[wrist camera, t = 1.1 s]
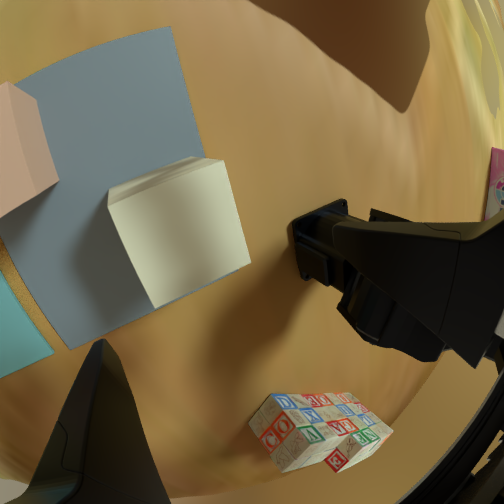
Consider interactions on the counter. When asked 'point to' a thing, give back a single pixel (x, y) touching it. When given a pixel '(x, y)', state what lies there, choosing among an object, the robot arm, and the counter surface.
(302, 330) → the counter surface
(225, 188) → the maple block
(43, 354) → the teal pad
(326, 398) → the stack of blocks
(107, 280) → the card
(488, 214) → the gum box
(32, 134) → the terracotta block
